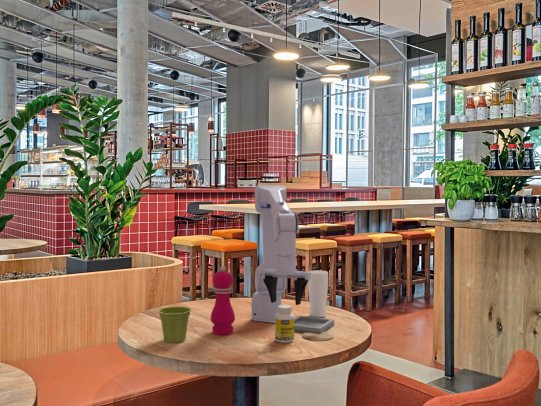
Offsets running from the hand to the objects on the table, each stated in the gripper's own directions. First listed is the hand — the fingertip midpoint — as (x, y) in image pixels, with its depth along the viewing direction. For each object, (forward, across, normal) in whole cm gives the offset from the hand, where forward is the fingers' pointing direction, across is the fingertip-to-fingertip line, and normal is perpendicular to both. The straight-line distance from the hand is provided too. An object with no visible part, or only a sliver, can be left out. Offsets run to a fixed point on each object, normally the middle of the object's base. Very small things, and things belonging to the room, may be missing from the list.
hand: (285, 303), depth 150 cm
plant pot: (+11, -29, -14) cm, 33 cm away
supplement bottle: (+11, 0, 0) cm, 11 cm away
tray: (+10, +1, +16) cm, 19 cm away
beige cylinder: (+10, -2, +31) cm, 33 cm away
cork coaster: (+11, +7, +8) cm, 15 cm away
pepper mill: (+11, -20, -1) cm, 23 cm away
